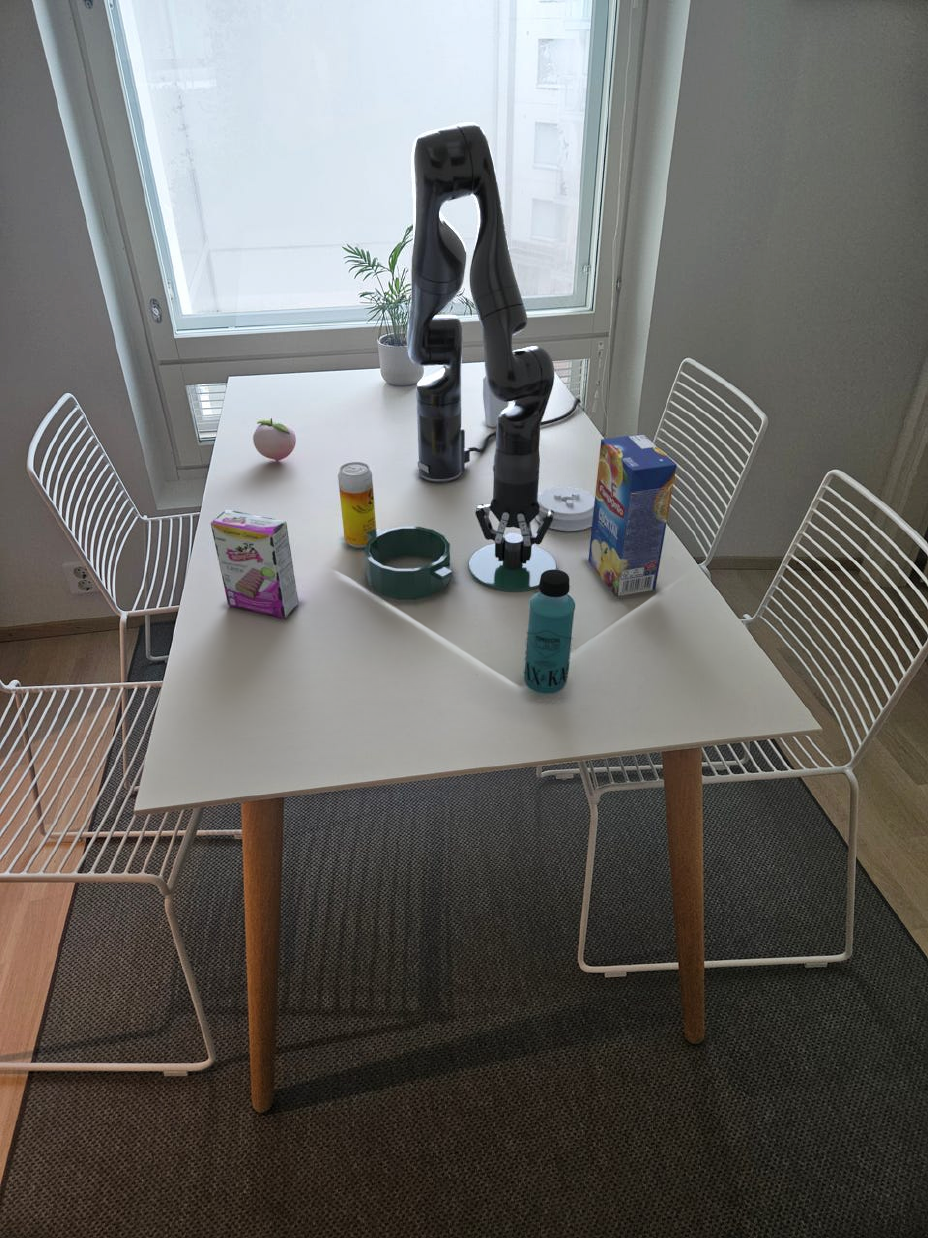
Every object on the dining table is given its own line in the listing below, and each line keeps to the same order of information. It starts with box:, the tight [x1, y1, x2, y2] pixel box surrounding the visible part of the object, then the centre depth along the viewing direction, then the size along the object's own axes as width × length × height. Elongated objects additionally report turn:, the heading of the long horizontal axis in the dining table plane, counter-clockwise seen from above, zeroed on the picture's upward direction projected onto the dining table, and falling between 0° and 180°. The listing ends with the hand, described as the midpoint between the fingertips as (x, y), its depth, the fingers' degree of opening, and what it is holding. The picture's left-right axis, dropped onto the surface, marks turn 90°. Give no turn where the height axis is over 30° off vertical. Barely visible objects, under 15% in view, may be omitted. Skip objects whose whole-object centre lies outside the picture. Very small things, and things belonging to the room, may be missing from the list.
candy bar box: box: [209, 508, 299, 619], centre depth 130 cm, size 11×5×16 cm, turn 71°
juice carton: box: [587, 433, 678, 597], centre depth 135 cm, size 12×8×24 cm, turn 16°
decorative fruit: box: [252, 417, 297, 462], centre depth 177 cm, size 9×8×10 cm
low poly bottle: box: [482, 375, 510, 428], centre depth 190 cm, size 6×6×22 cm
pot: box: [364, 526, 454, 601], centre depth 140 cm, size 15×20×6 cm
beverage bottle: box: [522, 569, 576, 695], centre depth 113 cm, size 6×7×20 cm
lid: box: [534, 486, 595, 532], centre depth 157 cm, size 13×13×5 cm
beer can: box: [337, 461, 377, 549], centre depth 148 cm, size 6×6×15 cm
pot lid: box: [468, 532, 557, 593], centre depth 142 cm, size 16×16×7 cm
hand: (512, 559), depth 143 cm, fingers closed on pot lid, 3 cm apart
